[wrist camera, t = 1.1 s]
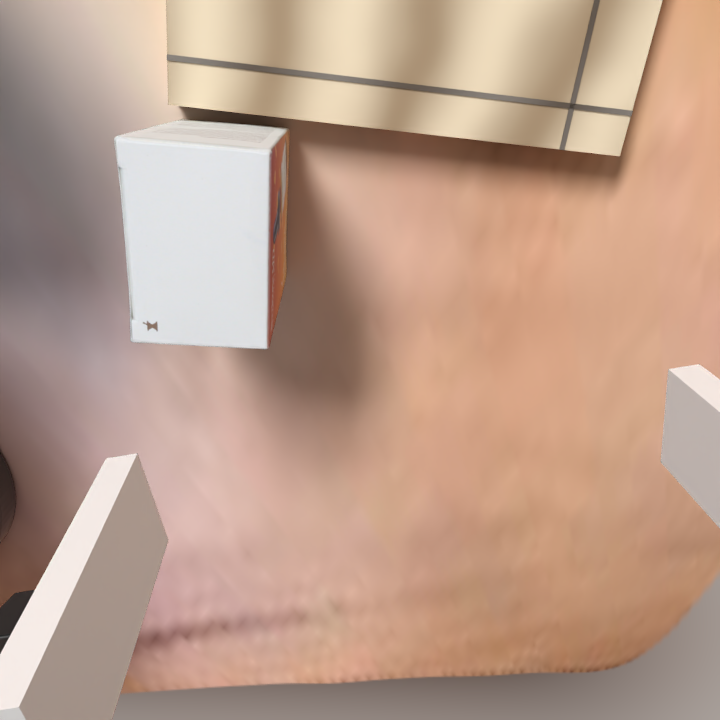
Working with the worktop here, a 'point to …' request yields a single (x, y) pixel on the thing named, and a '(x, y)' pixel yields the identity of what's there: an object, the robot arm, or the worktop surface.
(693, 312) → the worktop surface
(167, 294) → the small box
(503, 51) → the board
